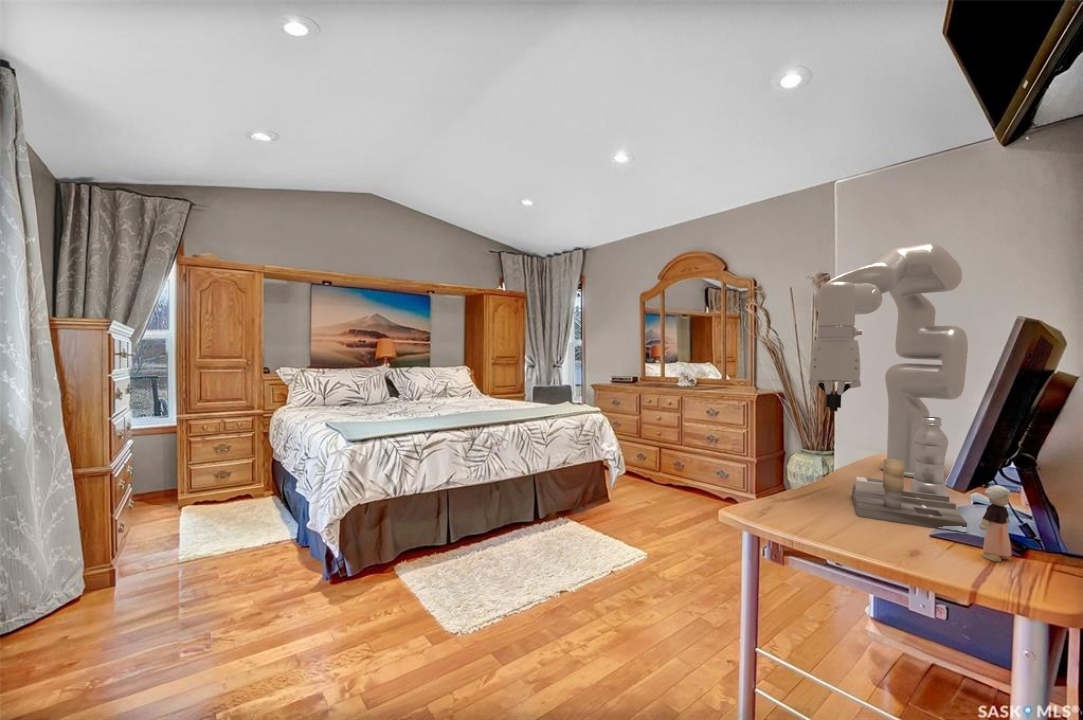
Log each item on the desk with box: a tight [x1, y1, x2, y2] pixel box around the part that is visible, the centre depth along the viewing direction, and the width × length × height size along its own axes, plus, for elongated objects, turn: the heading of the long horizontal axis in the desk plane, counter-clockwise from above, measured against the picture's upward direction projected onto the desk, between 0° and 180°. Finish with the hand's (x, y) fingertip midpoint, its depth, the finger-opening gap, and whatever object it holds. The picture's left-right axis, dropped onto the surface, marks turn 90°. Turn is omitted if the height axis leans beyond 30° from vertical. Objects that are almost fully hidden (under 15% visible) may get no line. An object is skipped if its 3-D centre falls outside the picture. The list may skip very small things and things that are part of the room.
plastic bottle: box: [910, 415, 949, 496], centre depth 112 cm, size 6×7×20 cm
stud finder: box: [855, 476, 884, 494], centre depth 110 cm, size 4×6×3 cm, turn 60°
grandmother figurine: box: [979, 484, 1013, 563], centre depth 83 cm, size 8×4×13 cm, turn 123°
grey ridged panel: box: [851, 483, 968, 529], centre depth 105 cm, size 16×18×3 cm
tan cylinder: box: [882, 458, 905, 509], centre depth 102 cm, size 4×4×10 cm
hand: (833, 410), depth 114 cm, fingers closed
